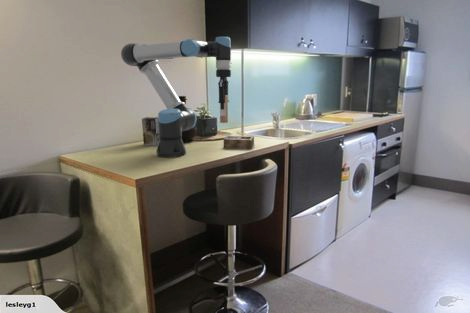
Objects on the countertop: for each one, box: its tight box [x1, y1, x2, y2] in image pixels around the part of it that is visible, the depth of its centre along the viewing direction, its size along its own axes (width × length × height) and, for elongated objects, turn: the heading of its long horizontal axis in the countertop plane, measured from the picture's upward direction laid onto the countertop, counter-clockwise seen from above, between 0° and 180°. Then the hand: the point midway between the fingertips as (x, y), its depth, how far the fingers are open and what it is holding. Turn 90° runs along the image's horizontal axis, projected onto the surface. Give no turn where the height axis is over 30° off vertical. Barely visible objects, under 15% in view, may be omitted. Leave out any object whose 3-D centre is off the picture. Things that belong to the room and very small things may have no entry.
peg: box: [219, 94, 229, 124], centre depth 179 cm, size 4×4×14 cm
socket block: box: [223, 134, 255, 150], centre depth 201 cm, size 16×12×5 cm
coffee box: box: [141, 116, 159, 147], centre depth 205 cm, size 9×6×16 cm
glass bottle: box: [178, 95, 198, 143], centre depth 215 cm, size 18×18×28 cm
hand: (223, 115), depth 180 cm, fingers closed on peg, 4 cm apart
